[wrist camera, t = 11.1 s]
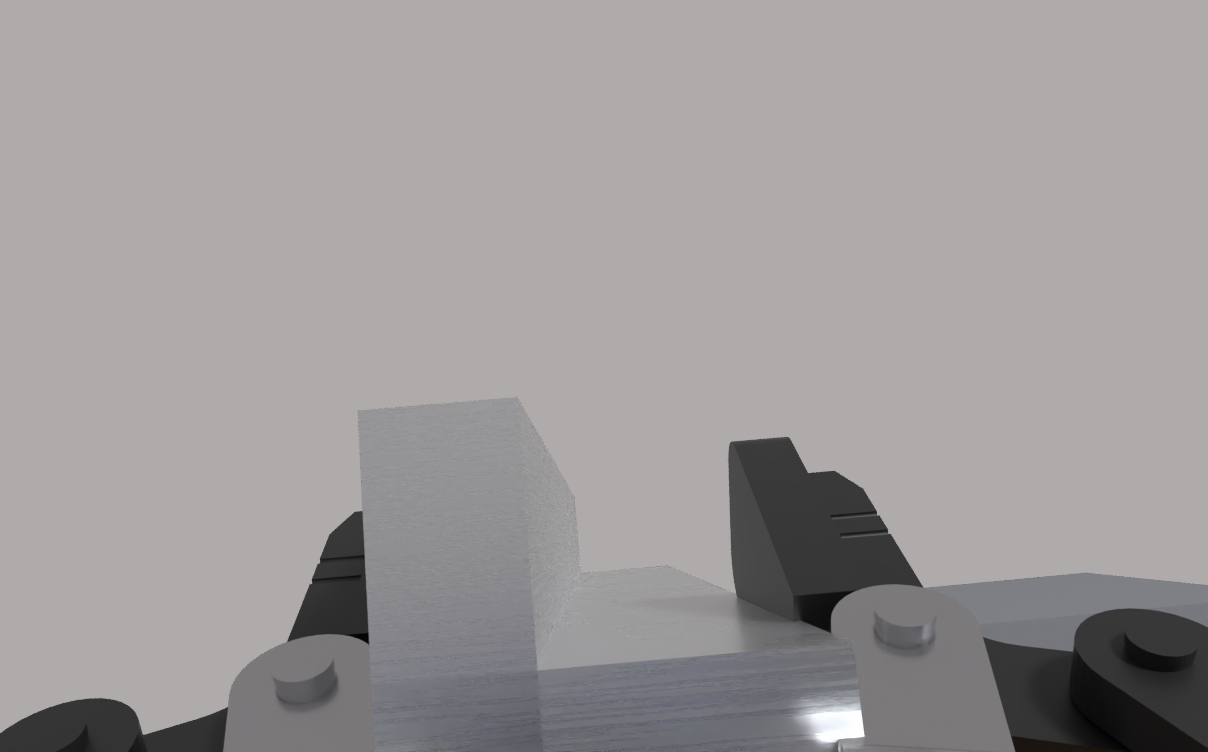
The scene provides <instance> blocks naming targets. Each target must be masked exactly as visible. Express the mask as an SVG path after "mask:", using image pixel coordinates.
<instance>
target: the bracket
mask: <svg viewBox="0 0 1208 752" xmlns="http://www.w3.org/2000/svg"><path fill="white" fill-rule="evenodd" d="M358 430H359V450H360V469H361V489H362V509H363V530H364V550H365V570H366V590H367V610H368V630H369V650H370V670H371V690H372V710H373V730H374V750H375V752H838V739H844V738H855V737H864V730H863V722H862V714H861V705H860V697H859V688H858V680H857V672H856V663H855V655H854V647H853V642H851V641H849V640H846V639H844V638H842V637H839V636H837V635H834V634H832V633H829V632H827V631H825V630H822V629H820V628H817V627H815V626H813V625H810V624H808V623H805V622H803V621H797V622H793V621H790V620H788V619H786V618H784V617H781V616H779V615H777V614H774V613H772V612H770V611H767V610H765V609H763V608H761V607H758V606H756V605H754V604H751V603H749V602H747V601H745V600H742V599H740V598H738V597H737V594H735V593H733V592H730V591H728V590H725V589H723V588H721V587H718V586H716V585H713V584H711V583H709V582H706V581H704V580H701V579H699V578H696V577H694V576H691V575H689V574H687V573H684V572H682V571H679V570H677V569H675V568H672V567H670V566H657V567H645V568H634V569H623V570H611V571H601V572H588V573H581V571H580V558H579V546H578V533H577V521H576V509H575V497H574V495H573V494H572V492H571V490H570V488H569V487H568V485H567V483H566V481H565V480H564V478H563V476H562V474H561V473H560V471H559V469H558V467H557V466H556V464H555V462H554V460H553V459H552V457H551V455H550V454H549V452H548V450H547V448H546V446H545V445H544V443H543V441H542V440H541V438H540V436H539V434H538V433H537V431H536V429H535V427H534V426H533V424H532V422H531V420H530V419H529V417H528V415H527V414H526V412H525V410H524V408H523V406H522V405H521V403H520V401H519V399H518V398H517V397H513V398H502V399H490V400H478V401H466V402H455V403H442V404H431V405H419V406H408V407H395V408H384V409H371V410H359V411H358Z"/></svg>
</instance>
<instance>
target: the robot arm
mask: <svg viewBox="0 0 1208 752" xmlns="http://www.w3.org/2000/svg"><path fill="white" fill-rule="evenodd" d="M729 494H730V527H731V555H732V567H733V576H734V583H735V589H736V594H737V597H738V598H740V599H742V600H745V601H747V602H749V603H751V604H754V605H756V606H758V607H761V608H763V609H765V610H767V611H770V612H772V613H774V614H777V615H779V616H781V617H784V618H786V619H788V620H790V621H793V622H797V621H803V622H805V623H808V624H810V625H813V626H815V627H817V628H820V629H822V630H825V631H827V632H829V633H832V634H834V635H837V636H839V637H842V638H844V639H846V640H849V641H851V642H853V647H854V655H855V663H856V672H857V680H858V688H859V697H860V705H861V714H862V722H863V730H864V737H855V738H844V739H838V752H1208V627H1206V626H1204V625H1202V624H1200V623H1198V622H1195V621H1192V620H1190V619H1187V618H1184V617H1181V616H1178V615H1174V614H1171V613H1166V612H1161V611H1156V610H1148V609H1135V608H1126V609H1114V610H1108V611H1104V612H1100V613H1097V614H1095V615H1093V616H1091V617H1089V618H1087V619H1086V620H1084V621H1083V622H1082V623H1081V624H1080V625H1079V627H1078V628H1077V630H1076V633H1075V636H1074V645H1073V652H1072V651H1063V650H1055V649H1046V648H1037V647H1028V646H1020V645H1014V644H1007V643H1003V642H999V641H995V640H991V639H988V638H985V637H983V636H982V632H981V629H980V626H979V624H978V621H977V619H976V618H975V617H974V615H973V614H972V613H971V612H970V611H969V610H968V609H967V608H966V607H965V606H964V605H962V604H961V603H959V602H958V601H956V600H955V599H953V598H951V597H949V596H947V595H945V594H942V593H939V592H937V591H934V590H930V589H926V588H923V586H922V585H921V583H920V581H919V580H918V578H917V576H916V575H915V573H914V571H913V570H912V568H911V567H910V565H909V563H908V562H907V560H906V558H905V557H904V555H903V554H902V552H901V550H900V549H899V547H898V546H897V544H896V542H895V540H894V539H893V537H892V536H891V534H888V529H887V527H886V526H885V524H884V522H883V521H882V519H881V518H880V516H877V511H876V509H875V508H874V506H873V504H872V503H871V501H870V499H869V498H868V496H867V495H866V493H865V491H864V490H863V488H861V487H859V486H858V485H856V484H855V483H853V482H851V481H850V480H848V479H847V478H845V477H843V476H842V475H840V474H839V473H837V472H836V471H828V472H816V473H808V472H807V470H806V468H805V467H804V465H803V463H802V461H801V459H800V457H799V455H798V453H797V451H796V449H795V447H794V445H793V444H792V441H791V440H790V438H788V437H781V438H769V439H758V440H746V441H735V442H731V443H730V446H729ZM0 752H375V750H374V730H373V710H372V690H371V670H370V650H369V630H368V610H367V590H366V570H365V550H364V530H363V511H360V512H354V513H353V514H352V515H351V516H350V517H349V518H347V519H346V520H345V521H344V522H343V523H342V524H341V525H340V526H339V527H337V528H336V529H335V530H334V531H333V532H332V533H331V534H330V535H329V538H328V540H327V542H326V545H325V547H324V550H323V552H322V555H321V557H320V564H318V565H317V568H316V570H315V573H314V575H313V578H312V584H310V585H309V588H308V590H307V593H306V595H305V598H304V601H303V603H302V606H301V608H300V611H299V613H298V616H297V618H296V621H295V623H294V626H293V629H292V631H291V633H290V636H289V638H288V641H287V642H286V643H283V644H281V645H279V646H276V647H274V648H272V649H270V650H268V651H266V652H265V653H263V654H261V655H260V656H258V657H257V658H256V659H254V660H253V661H251V662H250V663H249V664H248V665H247V666H246V667H245V668H244V669H243V670H242V671H241V672H240V673H239V675H238V676H237V677H236V679H235V681H234V683H233V684H232V687H231V690H230V695H229V704H228V707H227V708H225V709H223V710H220V711H218V712H216V713H213V714H211V715H208V716H205V717H202V718H199V719H196V720H193V721H189V722H186V723H183V724H180V725H176V726H173V727H170V728H166V729H163V730H160V731H156V732H153V733H149V734H146V735H143V734H142V730H141V727H140V723H139V720H138V717H137V715H136V713H135V712H134V710H133V709H131V708H130V707H129V706H128V705H126V704H124V703H122V702H119V701H115V700H111V699H102V698H100V699H84V700H76V701H71V702H67V703H62V704H59V705H56V706H53V707H49V708H47V709H44V710H42V711H39V712H37V713H34V714H32V715H30V716H28V717H26V718H24V719H22V720H20V721H19V722H17V723H15V724H14V725H12V726H10V727H9V728H7V729H6V730H4V731H3V732H2V733H0Z"/></svg>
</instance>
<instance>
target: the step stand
mask: <svg viewBox="0 0 1208 752" xmlns="http://www.w3.org/2000/svg"><path fill="white" fill-rule="evenodd" d="M926 589H930V590H934V591H937V592H939V593H942V594H945V595H947V596H949V597H951V598H953V599H955V600H956V601H958V602H959V603H961V604H962V605H964V606H965V607H966V608H967V609H968V610H969V611H970V612H971V613H972V614H973V615H974V617H975V618H976V619H977V621H978V624H979V626H980V629H981V632H982V636H983V637H985V638H988V639H991V640H995V641H999V642H1003V643H1007V644H1014V645H1020V646H1028V647H1037V648H1046V649H1055V650H1063V651H1072V652H1073V645H1074V636H1075V633H1076V630H1077V628H1078V627H1079V625H1080V624H1081V623H1082V622H1083V621H1084V620H1086V619H1087V618H1089V617H1091V616H1093V615H1095V614H1097V613H1100V612H1104V611H1108V610H1114V609H1126V608H1135V609H1148V610H1156V611H1161V612H1166V613H1171V614H1174V615H1178V616H1181V617H1184V618H1187V619H1190V620H1192V621H1195V622H1198V623H1200V624H1202V625H1204V626H1206V627H1208V585H1200V584H1190V583H1181V582H1170V581H1160V580H1150V579H1141V578H1131V577H1121V576H1111V575H1101V574H1092V573H1078V574H1068V575H1057V576H1046V577H1036V578H1025V579H1015V580H1004V581H993V582H983V583H973V584H962V585H951V586H940V587H930V588H926Z"/></svg>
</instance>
